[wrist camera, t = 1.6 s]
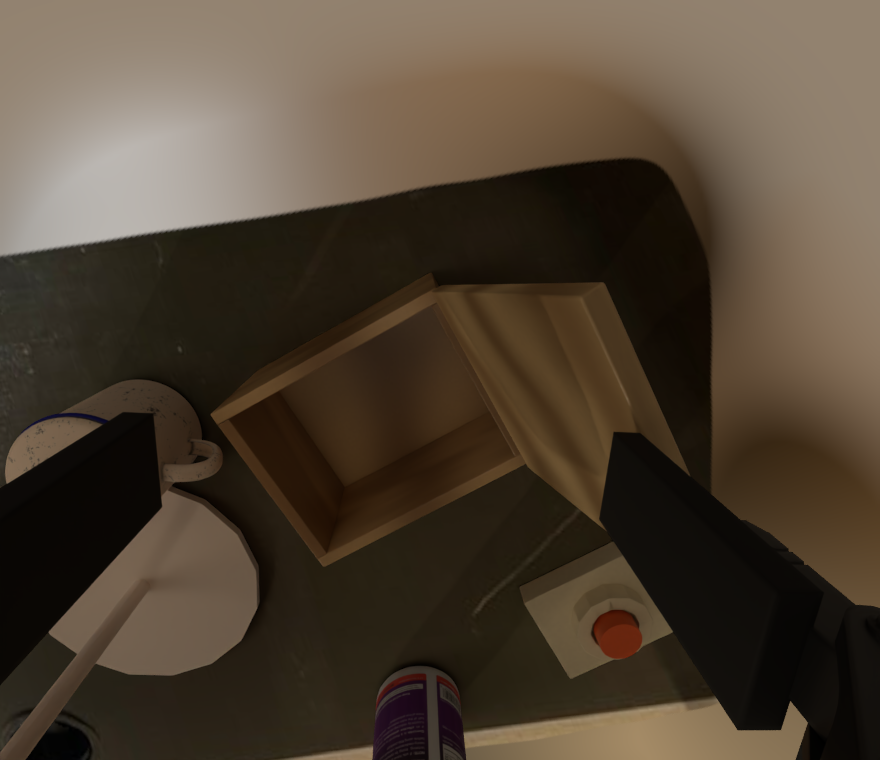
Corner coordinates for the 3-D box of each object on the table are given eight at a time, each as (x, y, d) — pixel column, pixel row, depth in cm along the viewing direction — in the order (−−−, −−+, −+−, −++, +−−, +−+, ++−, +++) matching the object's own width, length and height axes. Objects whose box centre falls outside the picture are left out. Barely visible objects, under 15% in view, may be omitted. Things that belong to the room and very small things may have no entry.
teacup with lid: (95, 476, 42) (-20, 567, 31) (83, 370, 40) (-47, 428, 28) (244, 485, 43) (184, 576, 32) (242, 382, 40) (176, 442, 29)
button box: (637, 528, 46) (658, 556, 42) (677, 607, 49) (699, 640, 45) (518, 586, 47) (527, 618, 43) (563, 660, 50) (576, 696, 46)
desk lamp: (120, 752, 51) (-300, 1506, 21) (-114, 529, 43) (-1350, 1243, 13) (377, 625, 48) (313, 1296, 18) (178, 358, 40) (-551, 773, 10)
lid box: (343, 494, 44) (323, 567, 34) (257, 370, 40) (209, 414, 31) (506, 408, 42) (531, 461, 33) (431, 271, 39) (436, 287, 29)
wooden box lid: (739, 640, 16) (758, 626, 17) (579, 297, 13) (604, 280, 13) (528, 467, 32) (538, 461, 32) (430, 291, 29) (442, 284, 29)
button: (624, 602, 44) (632, 617, 42) (640, 631, 45) (649, 647, 43) (586, 620, 44) (593, 636, 42) (602, 649, 45) (610, 665, 43)
